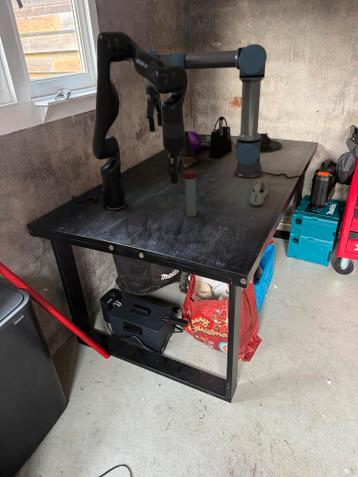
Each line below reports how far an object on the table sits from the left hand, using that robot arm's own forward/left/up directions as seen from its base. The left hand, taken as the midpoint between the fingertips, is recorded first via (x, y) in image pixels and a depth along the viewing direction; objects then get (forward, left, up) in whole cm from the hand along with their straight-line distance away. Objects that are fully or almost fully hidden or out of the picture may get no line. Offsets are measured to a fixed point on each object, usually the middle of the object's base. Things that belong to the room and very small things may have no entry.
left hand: (176, 177), depth 119 cm
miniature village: (+11, +139, -25) cm, 142 cm away
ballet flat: (+25, +46, -25) cm, 58 cm away
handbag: (-10, +114, -25) cm, 117 cm away
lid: (-1, +20, -5) cm, 21 cm away
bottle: (-1, +20, -25) cm, 32 cm away
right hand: (-33, +62, +3) cm, 70 cm away
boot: (-26, +93, -25) cm, 99 cm away
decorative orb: (-32, +115, -25) cm, 122 cm away
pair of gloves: (-25, +139, -25) cm, 143 cm away
